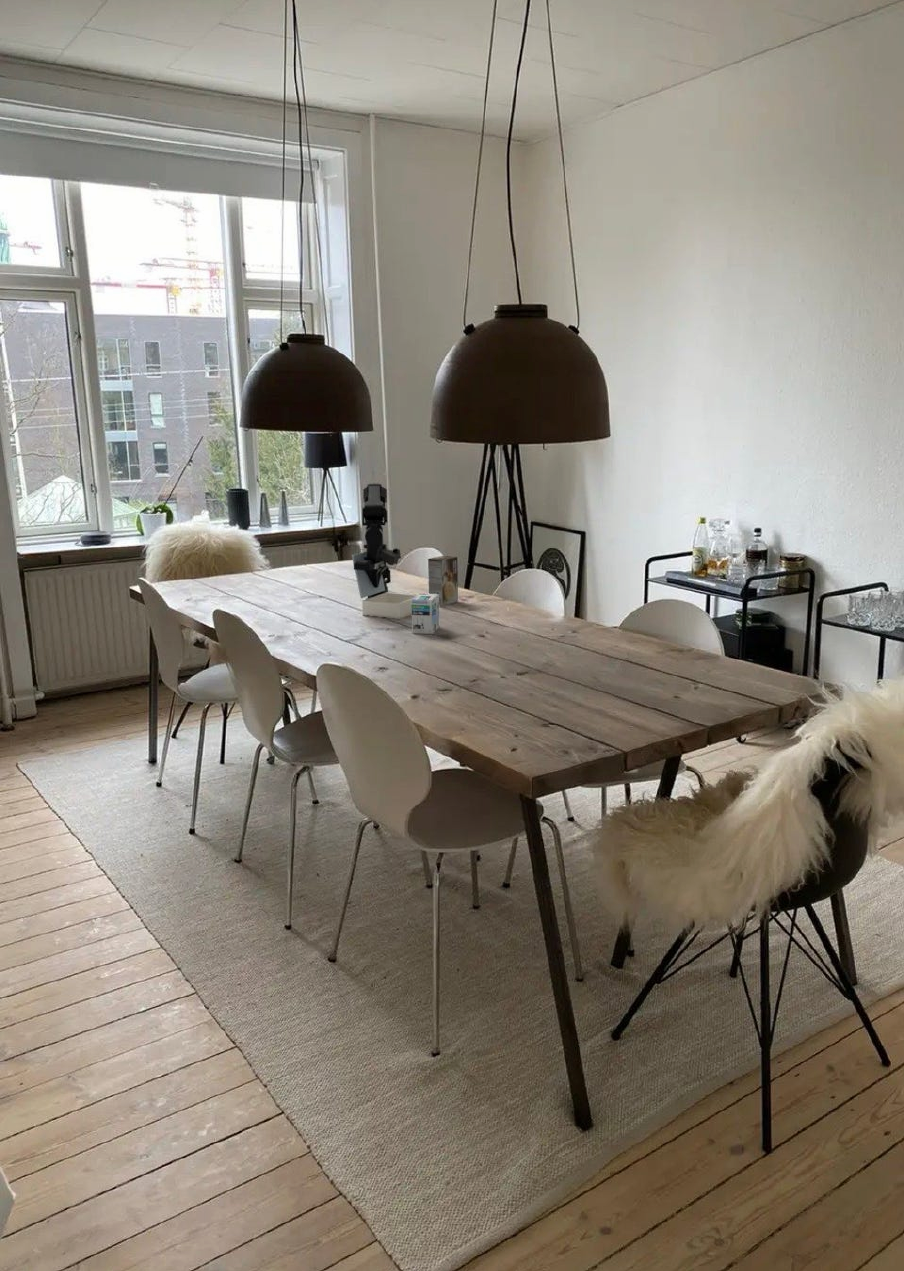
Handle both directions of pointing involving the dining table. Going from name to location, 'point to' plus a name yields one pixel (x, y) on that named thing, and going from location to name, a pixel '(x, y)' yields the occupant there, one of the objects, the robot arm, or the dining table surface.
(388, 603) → the open box
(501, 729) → the dining table surface
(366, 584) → the lid flap
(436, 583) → the coffee box
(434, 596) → the light bulb box
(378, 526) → the robot arm
